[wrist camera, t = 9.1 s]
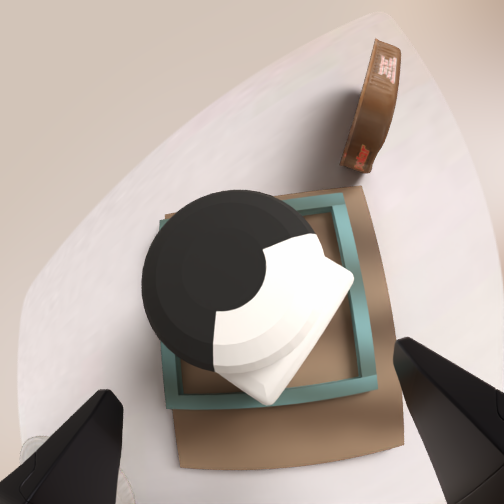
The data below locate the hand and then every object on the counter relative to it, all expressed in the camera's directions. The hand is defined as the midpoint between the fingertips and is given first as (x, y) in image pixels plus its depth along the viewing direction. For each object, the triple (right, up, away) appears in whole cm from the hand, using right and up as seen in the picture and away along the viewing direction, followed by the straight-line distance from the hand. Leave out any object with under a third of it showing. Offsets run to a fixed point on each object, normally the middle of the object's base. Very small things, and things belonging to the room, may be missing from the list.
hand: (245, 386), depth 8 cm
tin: (+11, +16, +18) cm, 26 cm away
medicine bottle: (+1, -1, +12) cm, 12 cm away
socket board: (+2, -2, +12) cm, 13 cm away
